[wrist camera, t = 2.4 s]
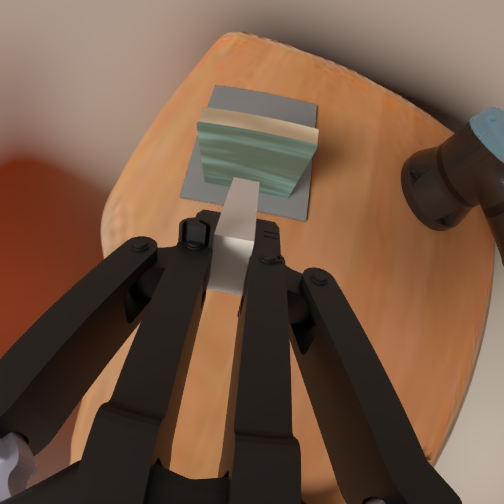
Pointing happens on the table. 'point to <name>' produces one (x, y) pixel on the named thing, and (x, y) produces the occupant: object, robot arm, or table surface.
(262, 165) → the plaque
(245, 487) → the robot arm
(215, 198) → the mat
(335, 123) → the table surface
